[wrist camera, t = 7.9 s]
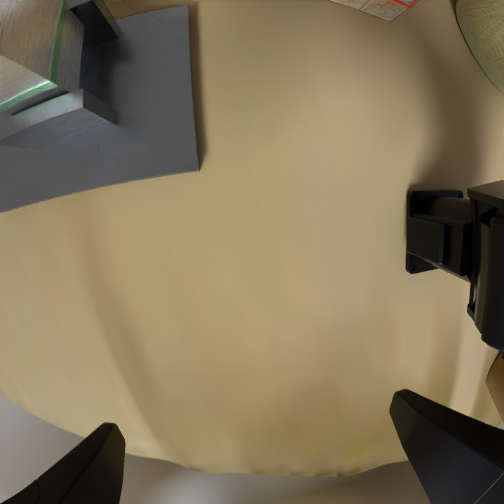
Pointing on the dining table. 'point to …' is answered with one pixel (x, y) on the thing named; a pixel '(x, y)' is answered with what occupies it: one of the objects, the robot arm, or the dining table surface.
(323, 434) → the dining table surface
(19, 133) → the grey stepped stand
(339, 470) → the dining table surface
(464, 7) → the vase
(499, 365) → the plant pot
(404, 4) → the stack of blocks
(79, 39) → the column
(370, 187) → the dining table surface
